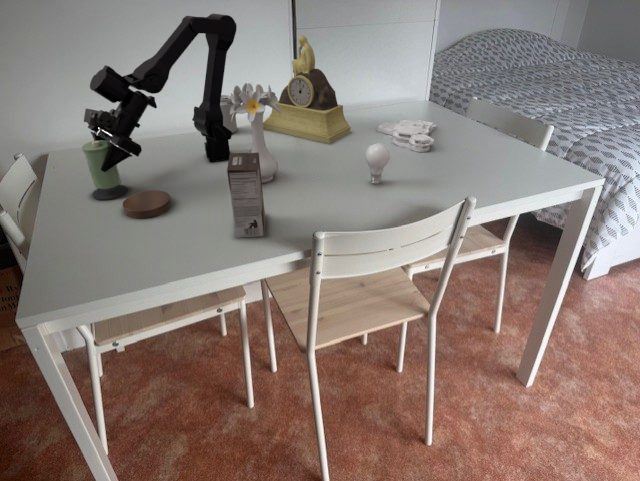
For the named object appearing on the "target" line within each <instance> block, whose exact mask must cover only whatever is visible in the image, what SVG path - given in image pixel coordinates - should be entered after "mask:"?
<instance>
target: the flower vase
mask: <svg viewBox="0 0 640 481" xmlns="http://www.w3.org/2000/svg"><path fill="white" fill-rule="evenodd" d="M267 89H268V90H267V91H264V88H263V86H262V85H261V84H259V83H257V84H256V85H255V91H254V87H253V85H252V84H251V83H249V82H248V83H247V82H245V83H244V84H243V86H242V88H240V86H239V85H235V86H234V88H233V93H232V92H231V93H230V96H231V99H229V100H228V101H227V104H234V105H233V106H232V107H231V108H230V115H231V114H233V115H232V120H231V122H232V121H233V119H234V117H235V115H236V116H237V115H244V114H247V115H246V116H247V121H248V123H250V127H251V139H252V140H251V142H252V148H251V150H250V151H251V152H250V153H258V152H259V161H260V171H261V181H262V184H264V183H268V182H271V181H272V180H273V179H274V176H275V175H276V173H277V172H278V170H279V164H278V161H277V159H275V157H274V156H272V155H271V154H270V152H269V150H268V148H267V146H266V140H265V134H264V129H263V122H264V114H265V111H266V110H267V109H266V106H268V107H269V108H273V109H275V110H276V111H278V112H280V113H281V114H282V111H281V110H280V108H279V107H278V106H277V105H274V104H277V102H278V101H279V100H278V96H276V93H275V91H272V88H271V86H270V84H268V88H267Z"/></svg>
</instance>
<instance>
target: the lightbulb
mask: <svg viewBox="0 0 640 481" xmlns="http://www.w3.org/2000/svg"><path fill="white" fill-rule="evenodd" d="M390 159H391V153H390V150H389V148H388V146H386V145H385V144H384V143H379V142H377V143H372V144H371V145H369V146H368V147H367V148H366V151H365V153H364V160H365V162H366V165H367V166H368V167H369V171H370V182H371V183H372V184H374V185H379V184H380V183H382V175H383V172H384V169H385V167H386V166H387V164H389V161H390Z"/></svg>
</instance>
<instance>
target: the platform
mask: <svg viewBox="0 0 640 481" xmlns="http://www.w3.org/2000/svg"><path fill="white" fill-rule="evenodd" d="M171 207H172V199H171V195H170V193H168V192H166V191H164V190H159V189H151V190H142V191H139V192H135V193H133V194H131V195H128V197H126V198H125V199H124V200H123V202H122V208H123V212H124V214H125V215H126V216H127V217H128V218H129V217H130V218H133V219H151V218H154V217H158V216H160V215H163V214H164V213H166V212H167V211H169V210H170V209H171Z"/></svg>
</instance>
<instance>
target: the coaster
mask: <svg viewBox="0 0 640 481" xmlns="http://www.w3.org/2000/svg"><path fill="white" fill-rule="evenodd" d="M127 192H128V187H127V186H125V185H123V184H119V185H117V186H115V187H112V188H108V189H98V188H96V189H95V190H94V191H93V192H92V198H93V199H94V200H97V201H111V200H115V199H119V198H120V197H122V196H125V194H127Z"/></svg>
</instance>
